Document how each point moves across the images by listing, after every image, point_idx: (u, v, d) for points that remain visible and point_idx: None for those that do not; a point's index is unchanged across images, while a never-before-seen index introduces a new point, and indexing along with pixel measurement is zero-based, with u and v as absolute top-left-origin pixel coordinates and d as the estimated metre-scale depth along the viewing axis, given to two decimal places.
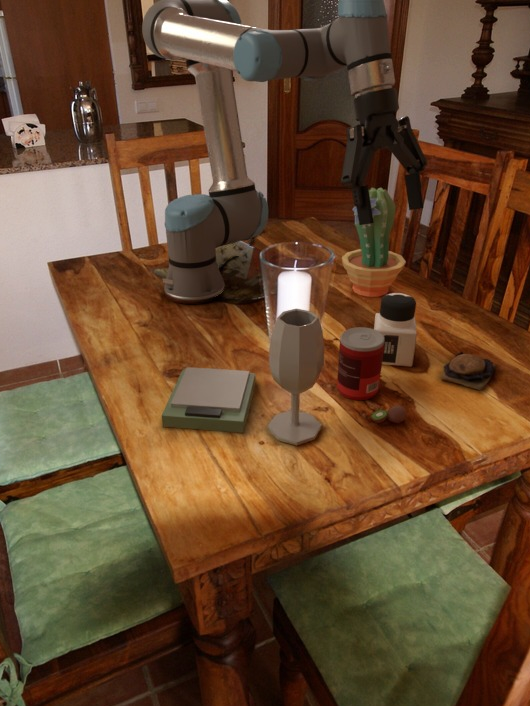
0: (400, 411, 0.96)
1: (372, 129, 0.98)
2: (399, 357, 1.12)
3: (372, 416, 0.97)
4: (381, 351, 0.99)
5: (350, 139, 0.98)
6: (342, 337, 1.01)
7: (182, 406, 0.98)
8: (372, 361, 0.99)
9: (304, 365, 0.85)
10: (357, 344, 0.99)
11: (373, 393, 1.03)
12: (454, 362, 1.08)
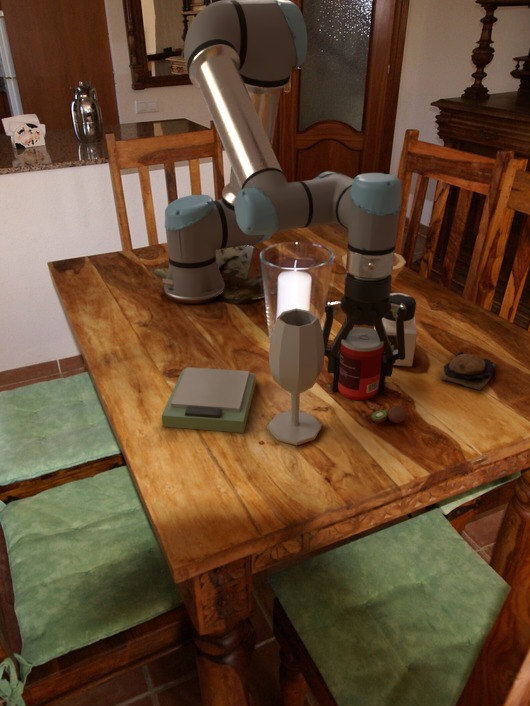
0: (400, 411, 0.96)
1: (348, 307, 0.97)
2: None
3: (372, 416, 0.97)
4: (381, 351, 0.99)
5: None
6: None
7: (182, 406, 0.98)
8: (372, 361, 0.99)
9: (304, 365, 0.85)
10: (357, 344, 0.99)
11: (373, 393, 1.03)
12: (454, 362, 1.08)
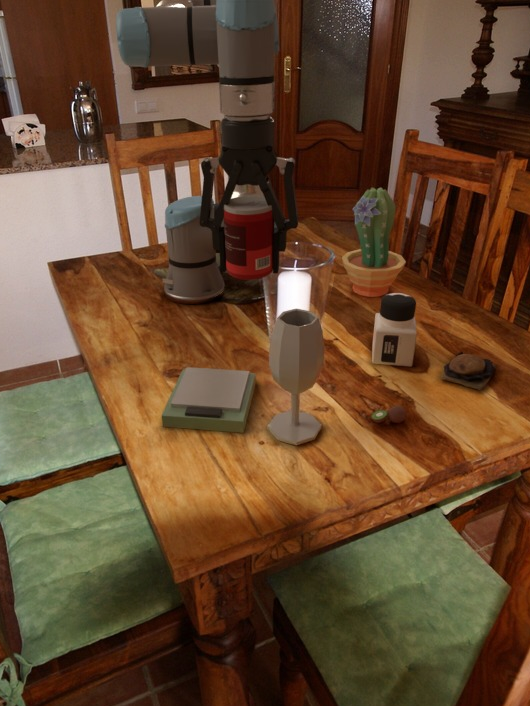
0: (400, 411, 0.96)
1: (227, 162, 0.83)
2: (399, 357, 1.12)
3: (372, 416, 0.97)
4: (269, 217, 0.85)
5: None
6: None
7: (182, 406, 0.98)
8: (258, 228, 0.85)
9: (304, 365, 0.85)
10: (241, 209, 0.85)
11: (265, 271, 0.89)
12: (454, 362, 1.08)
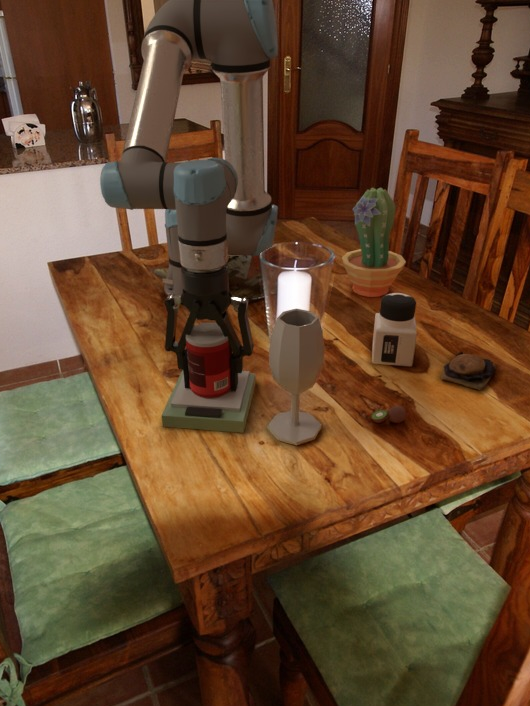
0: (400, 411, 0.96)
1: (187, 301, 0.93)
2: (399, 357, 1.12)
3: (372, 416, 0.97)
4: (226, 347, 0.95)
5: None
6: None
7: (182, 406, 0.98)
8: (215, 357, 0.95)
9: (304, 365, 0.85)
10: (200, 339, 0.95)
11: (223, 391, 0.99)
12: (454, 362, 1.08)
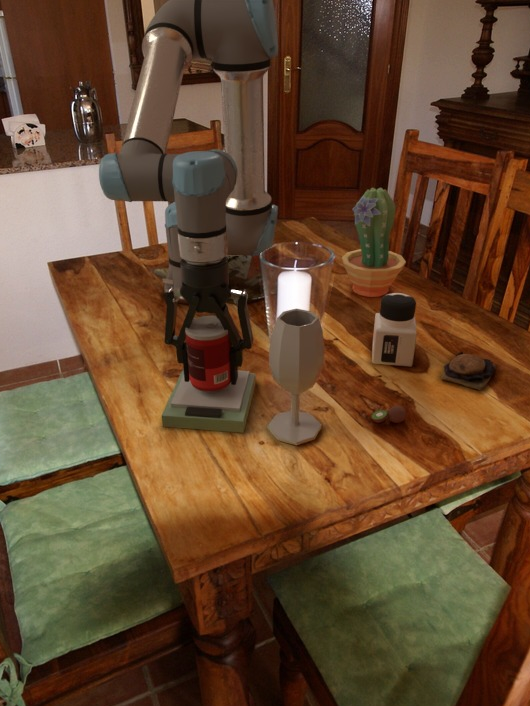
0: (400, 411, 0.96)
1: (187, 294, 0.93)
2: (399, 357, 1.12)
3: (372, 416, 0.97)
4: (225, 340, 0.95)
5: None
6: None
7: (182, 406, 0.98)
8: (215, 351, 0.94)
9: (304, 365, 0.85)
10: (200, 333, 0.95)
11: (223, 384, 0.99)
12: (454, 362, 1.08)
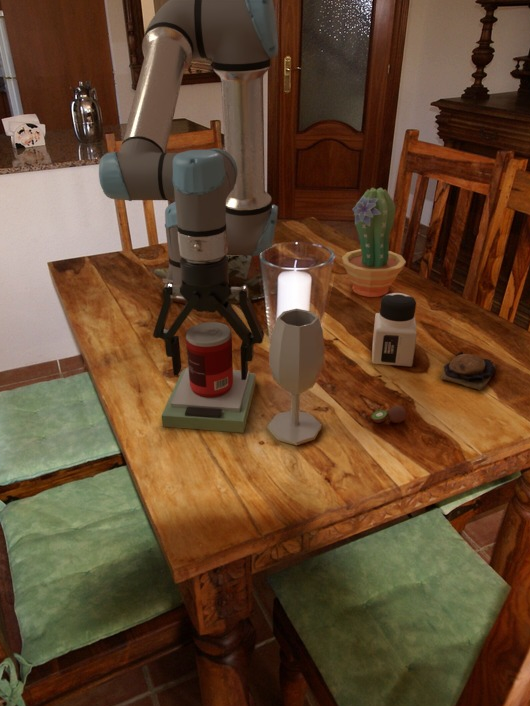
0: (400, 411, 0.96)
1: (186, 293, 0.92)
2: (399, 357, 1.12)
3: (372, 416, 0.97)
4: (226, 346, 0.96)
5: None
6: (188, 332, 0.97)
7: (182, 406, 0.98)
8: (216, 357, 0.95)
9: (304, 365, 0.85)
10: (201, 339, 0.95)
11: (223, 390, 0.99)
12: (454, 362, 1.08)
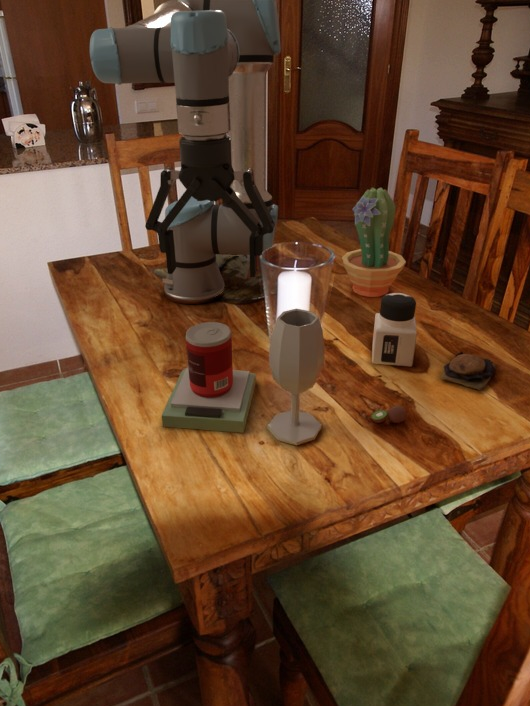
0: (400, 412, 0.96)
1: (186, 179, 0.85)
2: (399, 357, 1.12)
3: (372, 416, 0.97)
4: (226, 346, 0.96)
5: None
6: (187, 332, 0.97)
7: (182, 406, 0.98)
8: (216, 357, 0.95)
9: (304, 365, 0.85)
10: (200, 339, 0.95)
11: (223, 390, 0.99)
12: (454, 362, 1.08)
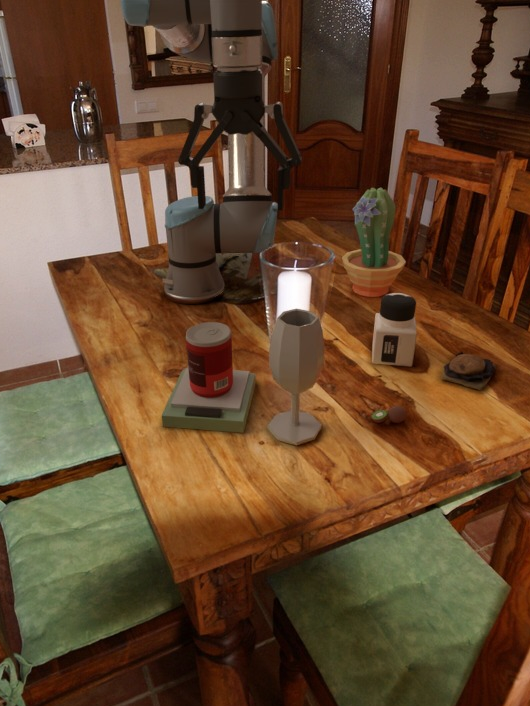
0: (400, 411, 0.96)
1: (219, 112, 0.90)
2: (399, 357, 1.12)
3: (372, 416, 0.97)
4: (226, 347, 0.96)
5: None
6: (187, 332, 0.97)
7: (182, 406, 0.98)
8: (216, 357, 0.95)
9: (304, 365, 0.85)
10: (200, 339, 0.95)
11: (223, 390, 0.99)
12: (454, 362, 1.08)
